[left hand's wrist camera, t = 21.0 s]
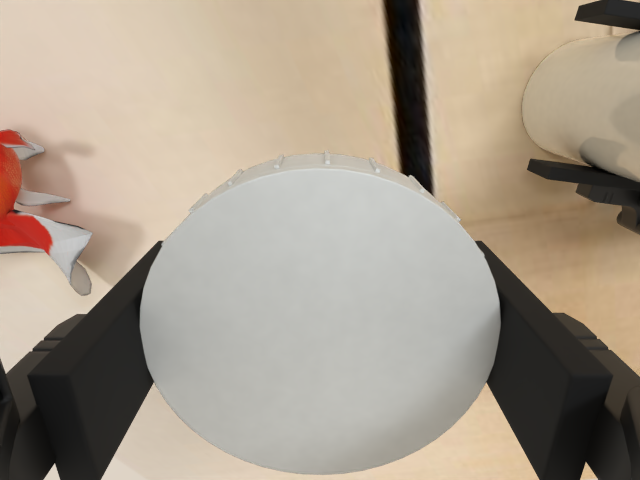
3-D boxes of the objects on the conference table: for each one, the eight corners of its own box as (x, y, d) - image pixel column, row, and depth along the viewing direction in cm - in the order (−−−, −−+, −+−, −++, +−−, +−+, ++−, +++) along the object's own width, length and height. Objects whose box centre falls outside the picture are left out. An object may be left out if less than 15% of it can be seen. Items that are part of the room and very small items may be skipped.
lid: (207, 440, 14) (191, 492, 12) (119, 178, 11) (79, 199, 9) (478, 408, 14) (502, 458, 12) (473, 123, 10) (505, 133, 9)
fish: (71, 81, 26) (-74, 181, 20) (162, 247, 37) (89, 344, 31) (-51, 70, 29) (-211, 155, 22) (69, 228, 40) (-15, 313, 34)
